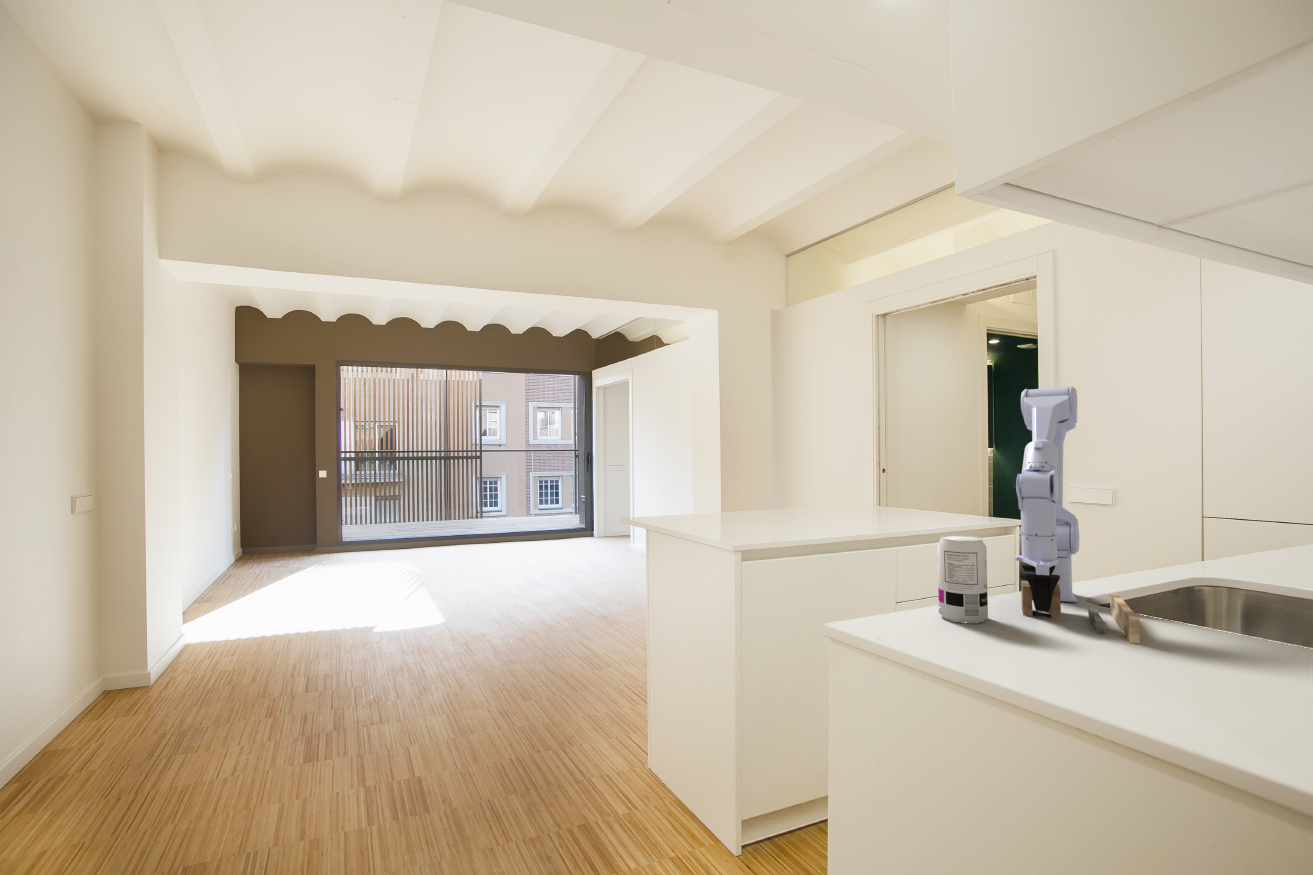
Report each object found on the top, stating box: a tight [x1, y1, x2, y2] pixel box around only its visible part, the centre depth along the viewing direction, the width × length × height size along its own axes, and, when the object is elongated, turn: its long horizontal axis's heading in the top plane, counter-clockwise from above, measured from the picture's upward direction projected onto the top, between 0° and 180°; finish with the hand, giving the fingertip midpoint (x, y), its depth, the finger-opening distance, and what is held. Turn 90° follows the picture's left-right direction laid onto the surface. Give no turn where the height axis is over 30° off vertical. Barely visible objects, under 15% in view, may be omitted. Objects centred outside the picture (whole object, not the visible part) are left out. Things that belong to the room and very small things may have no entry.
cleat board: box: [1087, 592, 1141, 645], centre depth 110 cm, size 18×5×4 cm, turn 152°
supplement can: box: [936, 534, 989, 624], centre depth 117 cm, size 8×8×15 cm
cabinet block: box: [1020, 580, 1062, 620], centre depth 119 cm, size 5×6×7 cm
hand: (1040, 606), depth 119 cm, fingers open, 7 cm apart
